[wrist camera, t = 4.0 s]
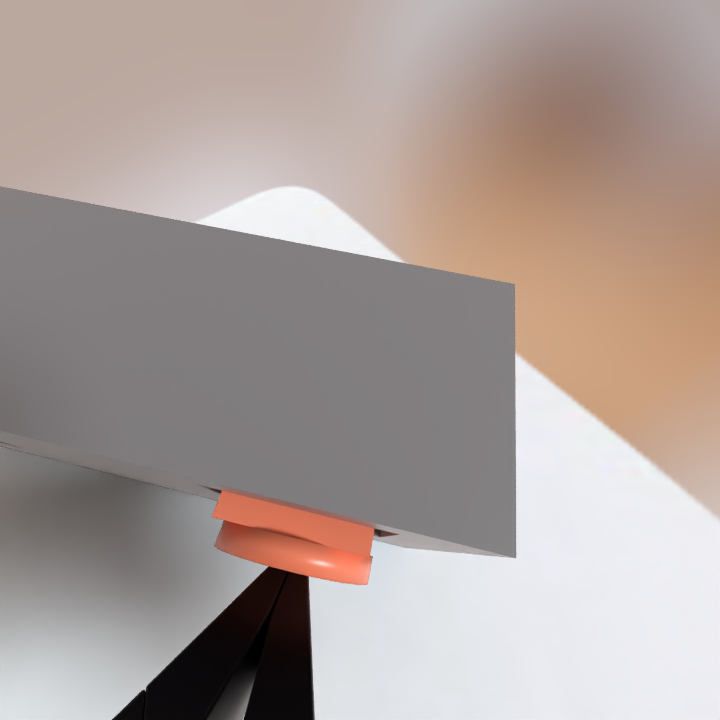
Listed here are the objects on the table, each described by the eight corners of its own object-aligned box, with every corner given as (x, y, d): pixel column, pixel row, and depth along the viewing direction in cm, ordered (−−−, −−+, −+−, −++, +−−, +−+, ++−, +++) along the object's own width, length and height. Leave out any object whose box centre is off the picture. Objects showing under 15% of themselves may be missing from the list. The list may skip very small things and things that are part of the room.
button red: (363, 576, 10) (373, 593, 7) (239, 543, 11) (187, 544, 7) (389, 432, 12) (407, 389, 9) (286, 408, 13) (264, 358, 9)
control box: (405, 547, 16) (515, 558, 5) (-1, 445, 17) (-504, 306, 7) (421, 425, 18) (514, 283, 8) (72, 347, 20) (-209, 146, 10)
